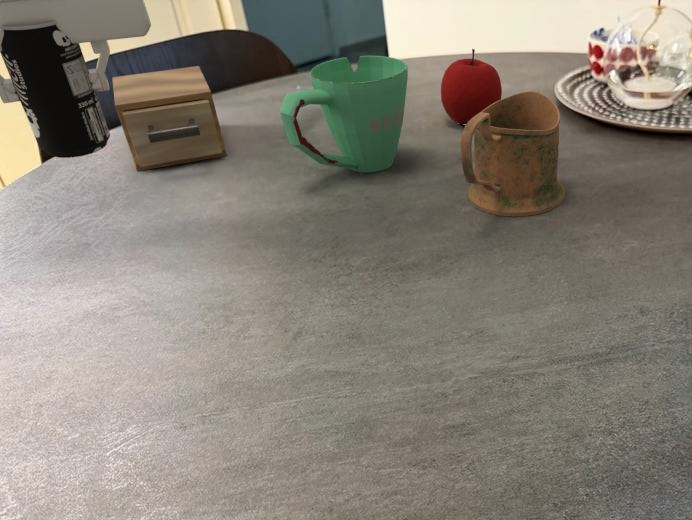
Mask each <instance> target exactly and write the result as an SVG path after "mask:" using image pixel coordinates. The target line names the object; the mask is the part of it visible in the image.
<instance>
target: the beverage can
mask: <svg viewBox="0 0 692 520" xmlns="http://www.w3.org/2000/svg"><path fill="white" fill-rule="evenodd" d="M56 24H57V21H52V22H48V23H43V24H38V25H30V26H16V27H15V26H1V29H3V30H4V36H3V40H2V43H1V47H2V51H1V52H0V56H1V58H2V60H3V63H4V65H5V68H6V70H7V72H8V74H9V77H10V79H11V80H12V82H13V84H14V87H15V89H16V92H17V94H18V97H19V99H20V101H19V102H20V105H21V107H22V109H23V112H24V114H25V116H26V118H27V121H28V123H29V126H30V128H31V131H32V133H33V136H34V138H35V141H36V143H37V146H38V148H39V149H40V150H41V151H43V152H45V153H47V154H48V155H49V156H51V157H54V158H61V159H69V158H70V159H71V158H77V157H78V158H79V157H84V156H87V155H91V154H95V153H97V152H99V151H101V150H102V149H104V148H105V147H106V146H107V144H108V141H109V139H110V137H111V133H110V130H109V127H108V125H107V121H106V119H105V118H106V117H105V116H104V113H103V109H102V106H101V103H100V100H99V98H98V94H97V92H94V91H93V89H92V83H91V82H90V80H89V77H88V73H89V71H88V70H89V68H88V66H87V63H86V59H85V57H84V54H83V51H82V48H81V45H80V43H76V44H73V43H72V42H71V41H70V39H69V38H68V37H67V36H66V35H65V34H64V33H63V32H62V31H60V30H59V29H58V27H57V26H56Z"/></svg>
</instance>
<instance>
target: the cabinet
mask: <svg viewBox="0 0 692 520" xmlns="http://www.w3.org/2000/svg"><path fill="white" fill-rule="evenodd" d="M111 78H112V90H113V100H114V107H115V110H116V113H117V116H118V119H119V122H120V124H121V127H122V128H121V129H122V131H123V133H124V136H125V140H126V142H127V145H128V148H129V152H130V154H131V157H132V160H133V163H134V165H135V169H136V172H141V171H146V170H152V169H158V168H163V167H169V166H176V165H181V164H186V163H192V162H197V161H204V160H209V159H215V158H221V157H226V156H228V153H227V148H226V146H225V145H226V144H225V142H224V137H223V134H222V129H221V126H220V122H219V118H218V114H217V111H216V110H217V109H216V106H215V102H214V98H213V94H212V91H211V89H210V87H209V85H208V82H207V80H206V78H205V75H204V74H203V72H202V70H201V67H200V66H199V65H196V66H195V65H194V66H189V67H180V68H173V69H172V68H171V69H166V70H165V69H164V70H158V71H157V70H156V71H150V72H143V73H135V74H127V75H119V76H113V77H111ZM199 99H202V100H207V99H208V101H209V103H210V107H211V111H212V115H213V119H214V123H215V127H216V130H217V134H218V138H219V142H220V146H221V150H222V153H218V154H213V155H207V156H201V157H195V158H189V159H183V160H178V161H172V162H166V163H160V164H154V165H148V166H143V167H140V164H139V161H138V158H137V155H136V152H135V150H134V147H133V144H132V141H131V138H130V135H129V132H128V129H127V126H126V123H125V120H124V117H123V112H125V111H129V110H131V109H138V108H145V107H151V106H158V105H165V104H172V103H179V102H185V101H192V100H199Z"/></svg>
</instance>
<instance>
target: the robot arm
mask: <svg viewBox="0 0 692 520" xmlns="http://www.w3.org/2000/svg"><path fill="white" fill-rule="evenodd" d="M52 21H57V24H56V26H57V27H58V29H59V30H60V31H62V32H63V33H64V34H65V35H66V36H67V37H68V38H69V39H70V41H71V42H72V43H73V44H76V43H79V44H84V43H90V46H91V49H92V52H93V54H95V55H98V58H97V63H96V66H95V68H90V69H89V68H88V71H89V73H88V77H89V80H90V82H91V83H92V89H93V91H94V92H96V93H97V92H105V91H110V89H111V88H110V84H109V80H108V77H107V74H106V69H107V66H108V62H109V58H110V55H111V50H110V49H111V48H110V45H109V42H108V41H114V40H125V39H132V38H143V37H145V36H147V34H148V32H149V31H150V29H151V27H152V23H151V19H150V16H149V12H148V9H147V7H146V4H145V1H144V0H0V52H1V51H2V47H1V43H2V40H3V36H4V30H3V29H1V26H15V27H16V26H30V25H38V24H43V23H48V22H52ZM0 100H1V102H2V103H3V104H10V103H17V102H20V99H19V97H18V94H17V92H16V89H15V87H14V84H13V82H12V80H11V78H5V77H3V76H2V75H1V74H0Z"/></svg>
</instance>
